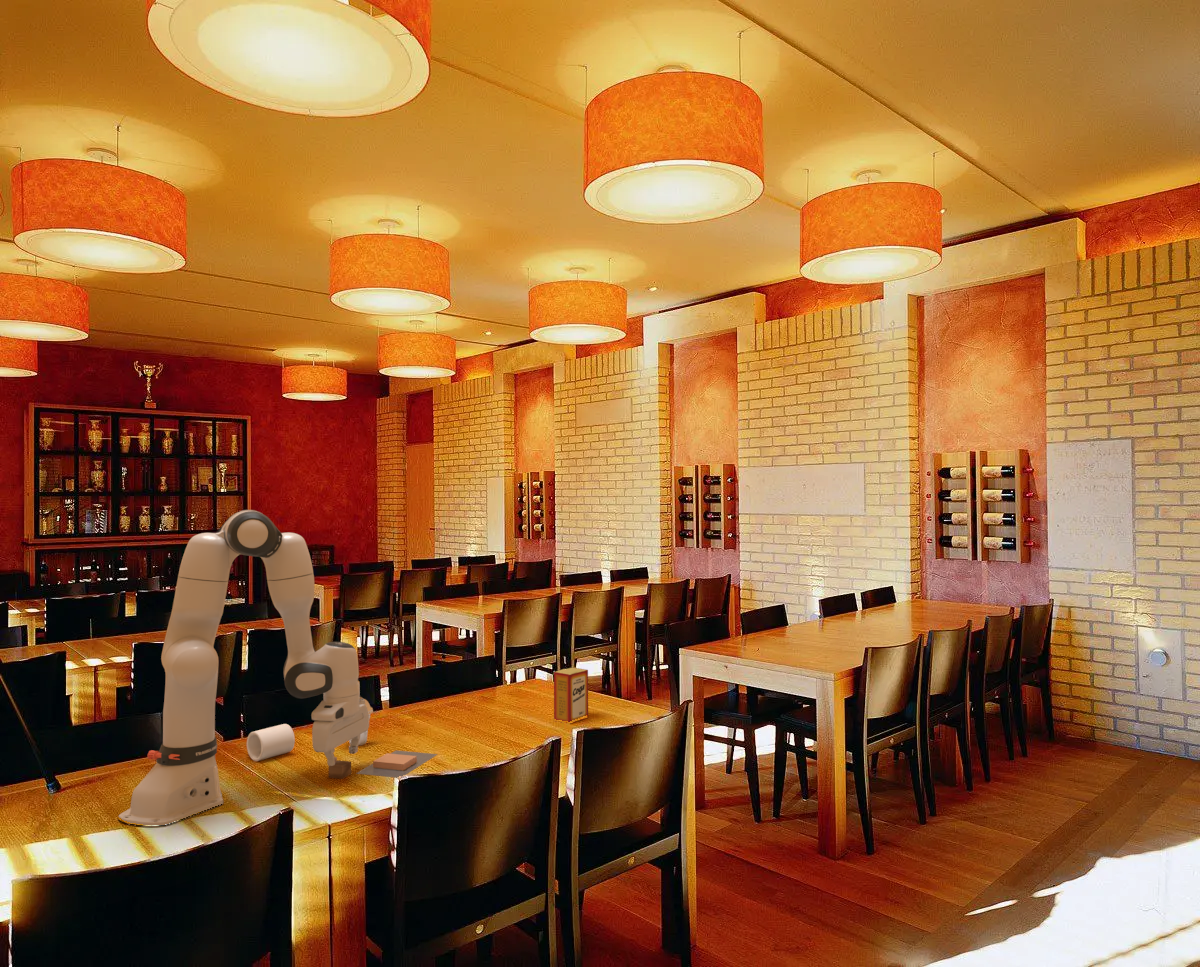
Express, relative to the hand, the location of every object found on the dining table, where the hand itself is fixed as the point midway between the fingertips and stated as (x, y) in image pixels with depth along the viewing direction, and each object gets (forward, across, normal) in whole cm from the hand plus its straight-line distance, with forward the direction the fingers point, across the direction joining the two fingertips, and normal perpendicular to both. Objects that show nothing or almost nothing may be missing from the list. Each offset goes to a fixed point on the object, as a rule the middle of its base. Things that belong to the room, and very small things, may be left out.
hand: (343, 758), depth 210 cm
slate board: (+5, -12, +9) cm, 16 cm away
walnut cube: (+5, +1, 0) cm, 5 cm away
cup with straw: (+5, -25, -12) cm, 28 cm away
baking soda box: (+7, -68, +40) cm, 79 cm away
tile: (+3, -7, +9) cm, 12 cm away
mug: (+5, -11, -32) cm, 34 cm away
